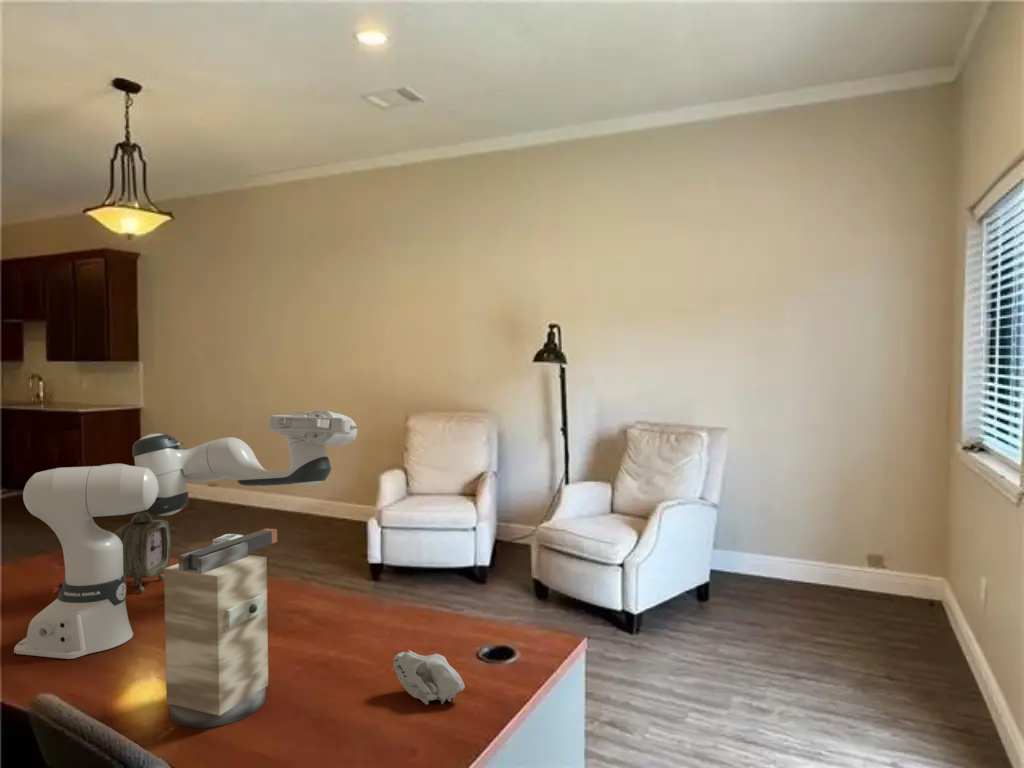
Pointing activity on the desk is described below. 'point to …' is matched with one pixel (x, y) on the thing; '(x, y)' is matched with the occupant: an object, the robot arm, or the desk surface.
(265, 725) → the desk surface
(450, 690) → the skull
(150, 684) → the desk surface
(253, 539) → the bar
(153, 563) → the tabletop clock
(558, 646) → the desk surface
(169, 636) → the level stand
